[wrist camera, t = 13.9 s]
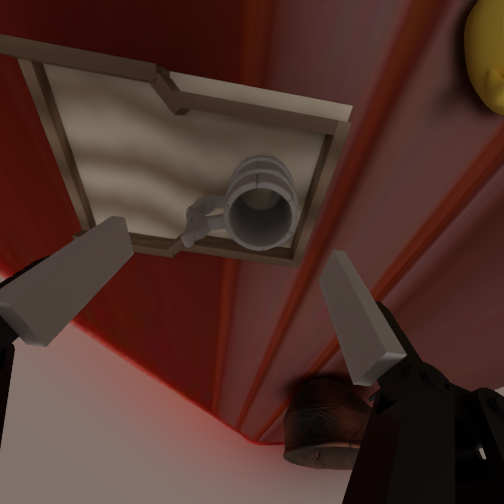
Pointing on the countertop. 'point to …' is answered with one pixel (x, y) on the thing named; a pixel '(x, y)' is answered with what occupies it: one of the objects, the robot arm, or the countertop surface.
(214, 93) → the rimmed tray
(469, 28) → the teapot
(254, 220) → the mug
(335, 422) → the bowl
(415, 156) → the countertop surface
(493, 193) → the countertop surface
